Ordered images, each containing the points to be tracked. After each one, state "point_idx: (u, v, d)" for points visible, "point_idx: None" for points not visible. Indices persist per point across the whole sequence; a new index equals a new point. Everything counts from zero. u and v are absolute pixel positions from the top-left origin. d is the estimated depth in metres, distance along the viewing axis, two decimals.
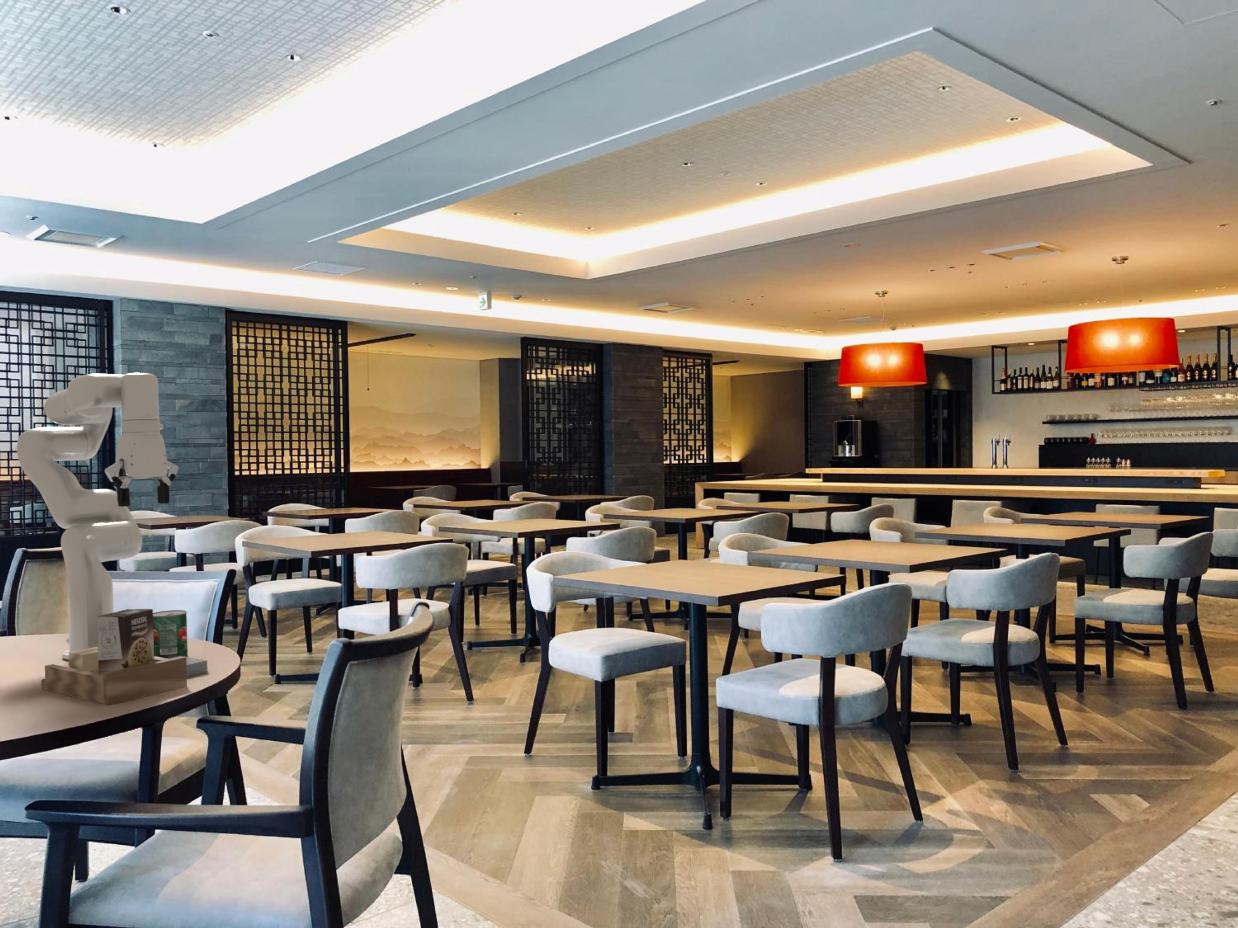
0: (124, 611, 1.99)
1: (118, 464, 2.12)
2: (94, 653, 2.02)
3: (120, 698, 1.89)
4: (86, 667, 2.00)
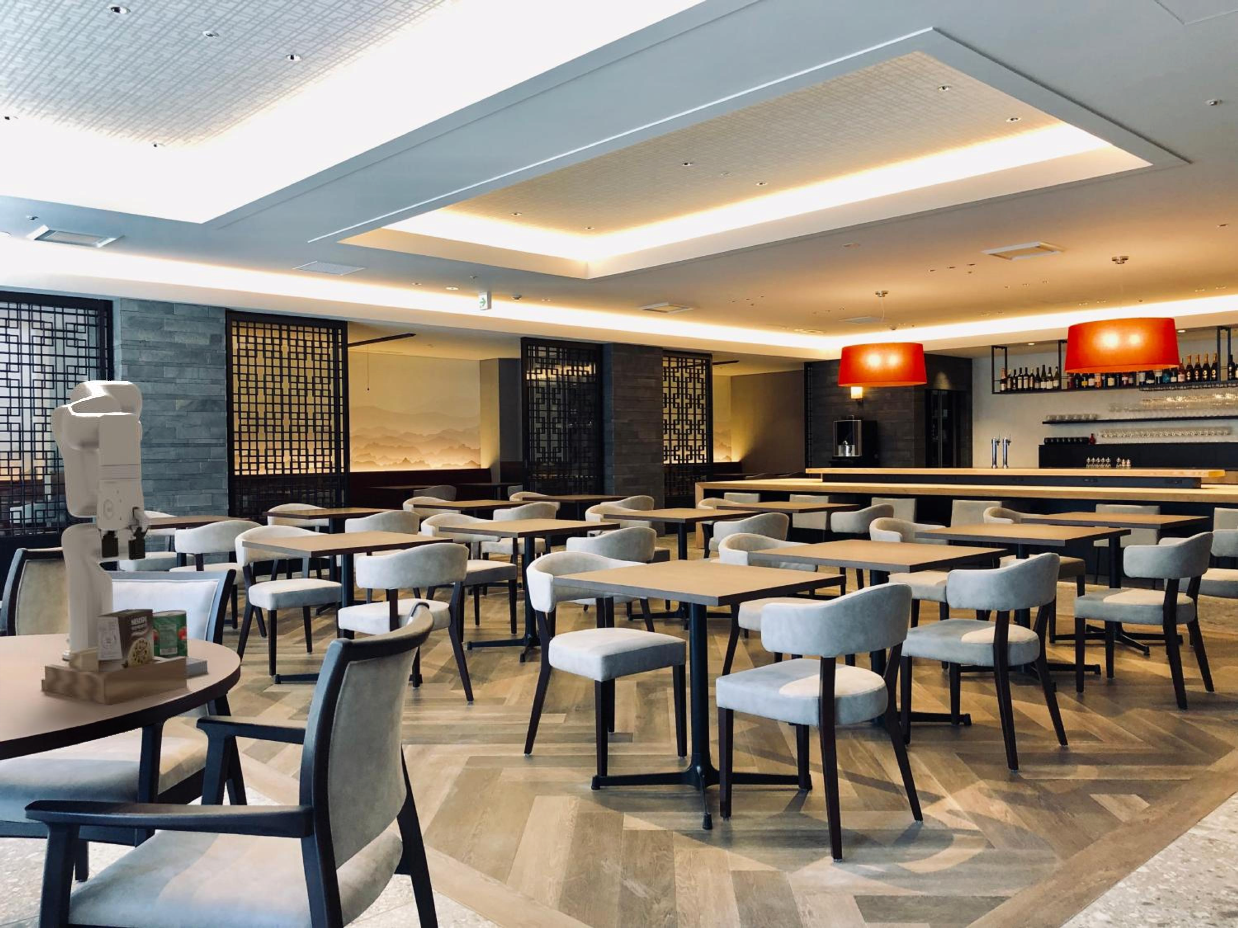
0: (124, 611, 1.99)
1: None
2: (94, 653, 2.02)
3: (120, 698, 1.89)
4: (86, 667, 2.00)
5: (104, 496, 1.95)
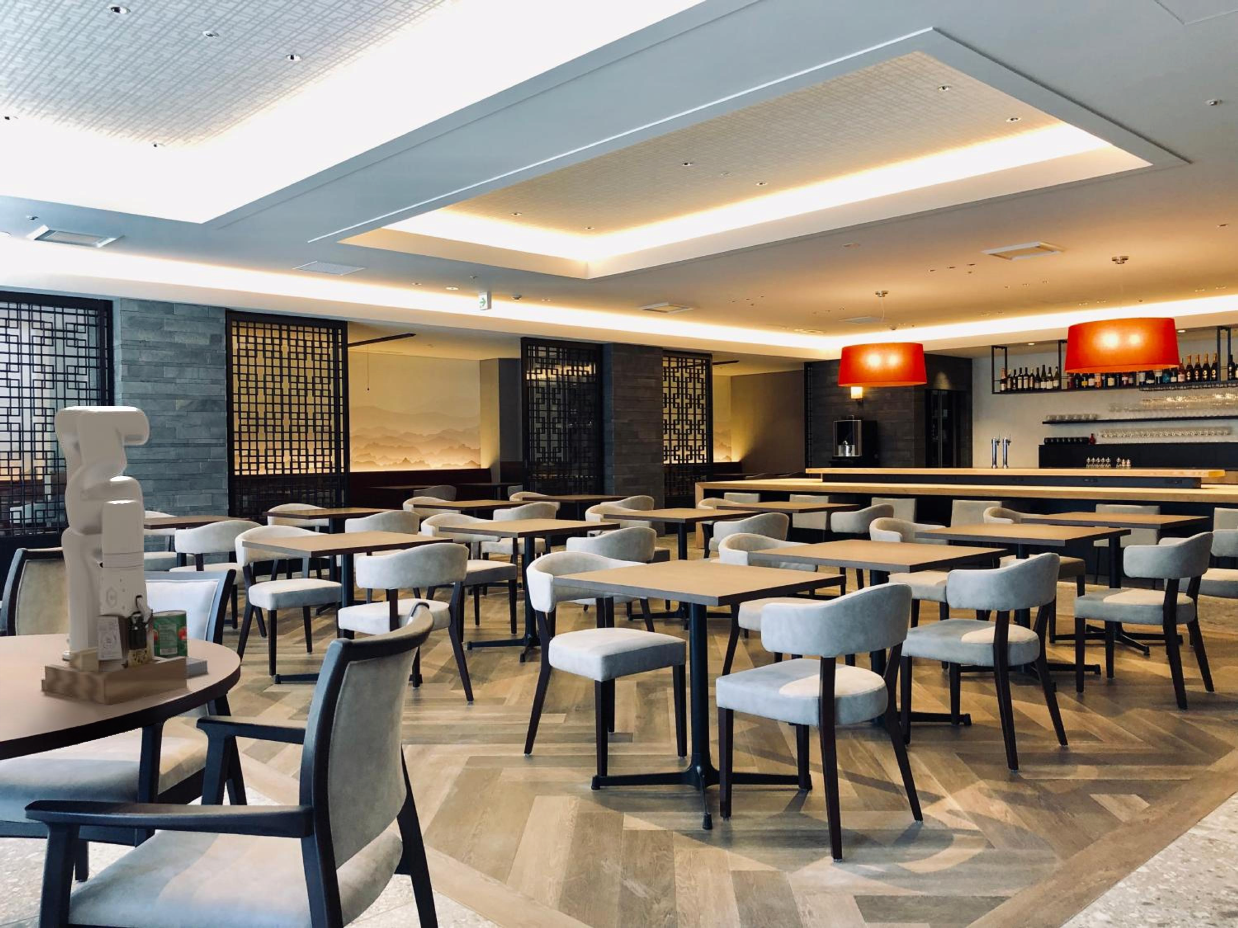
0: None
1: None
2: (94, 653, 2.02)
3: (120, 698, 1.89)
4: (86, 667, 2.00)
5: (107, 583, 1.95)
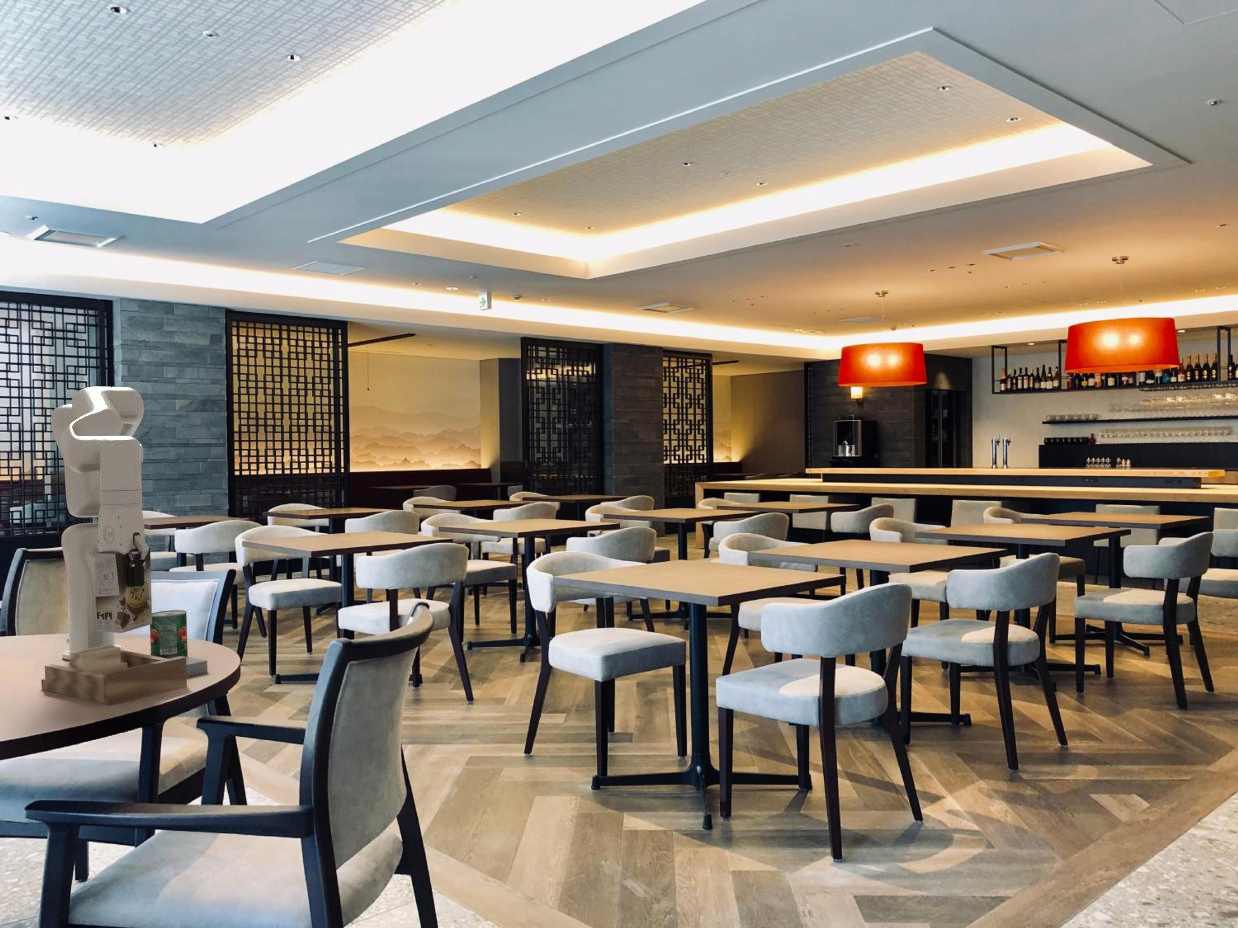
0: None
1: None
2: (94, 653, 2.02)
3: (120, 698, 1.89)
4: (86, 667, 2.00)
5: (105, 520, 1.95)
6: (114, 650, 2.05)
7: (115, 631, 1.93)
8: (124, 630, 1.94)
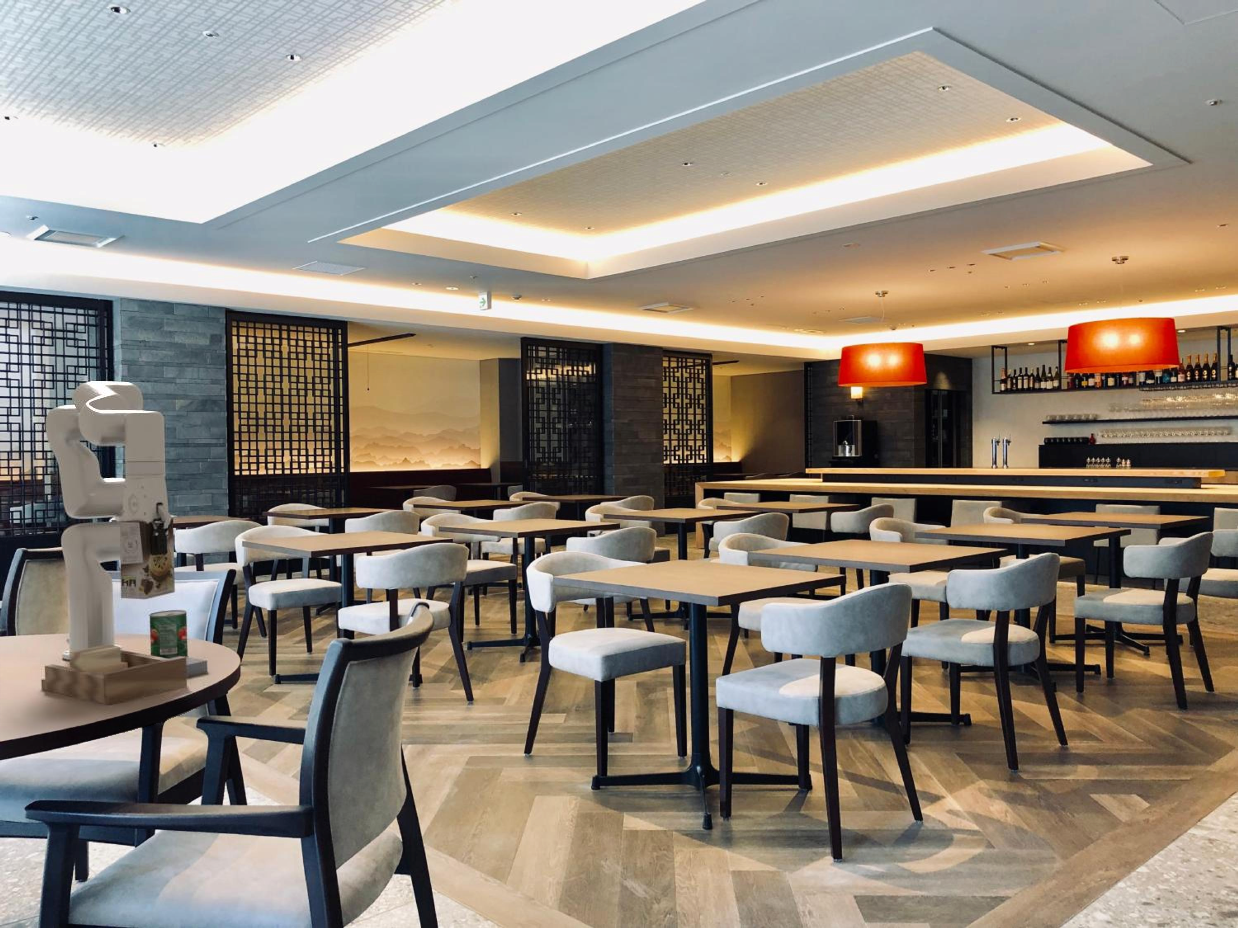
0: None
1: None
2: (94, 652, 2.02)
3: (120, 698, 1.89)
4: (86, 667, 2.00)
5: (129, 491, 2.02)
6: (114, 650, 2.05)
7: (139, 597, 2.00)
8: (147, 596, 2.00)
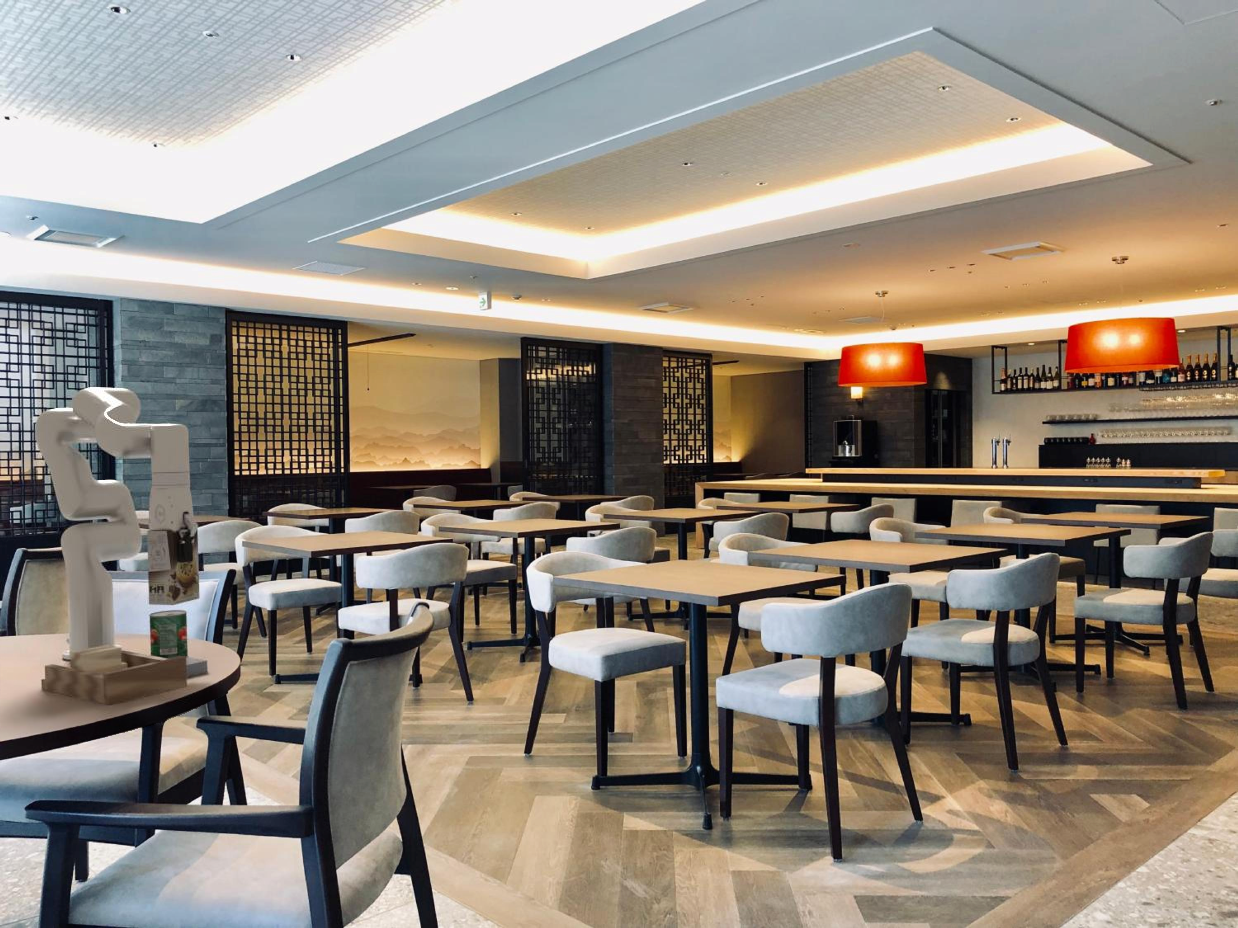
0: None
1: None
2: (94, 653, 2.01)
3: (120, 698, 1.89)
4: (86, 667, 2.00)
5: (156, 501, 2.09)
6: (114, 650, 2.05)
7: (167, 603, 2.07)
8: (175, 602, 2.07)
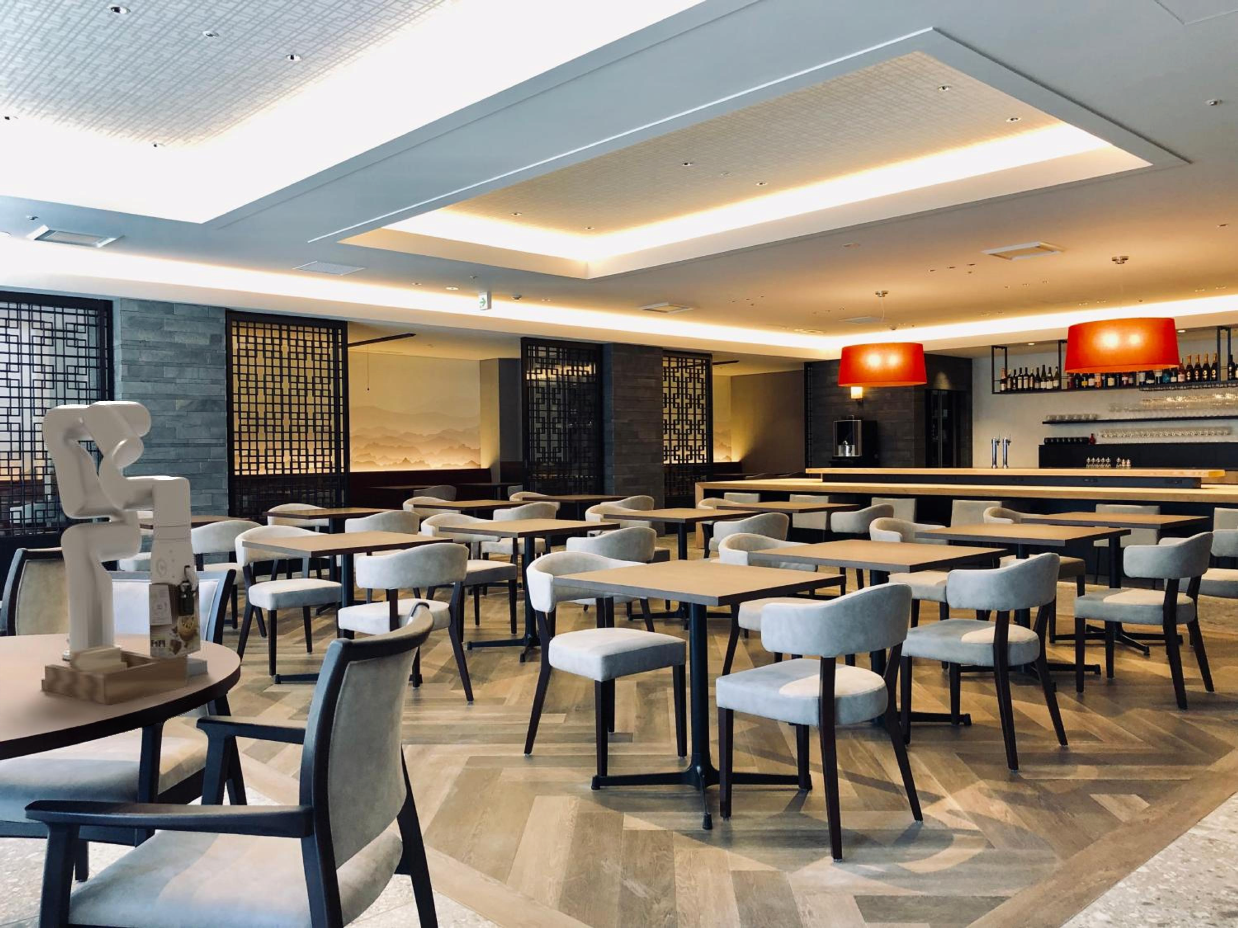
0: None
1: None
2: (94, 653, 2.01)
3: (120, 698, 1.89)
4: (85, 667, 2.00)
5: (157, 554, 2.10)
6: (114, 650, 2.04)
7: (168, 657, 2.07)
8: (176, 656, 2.08)
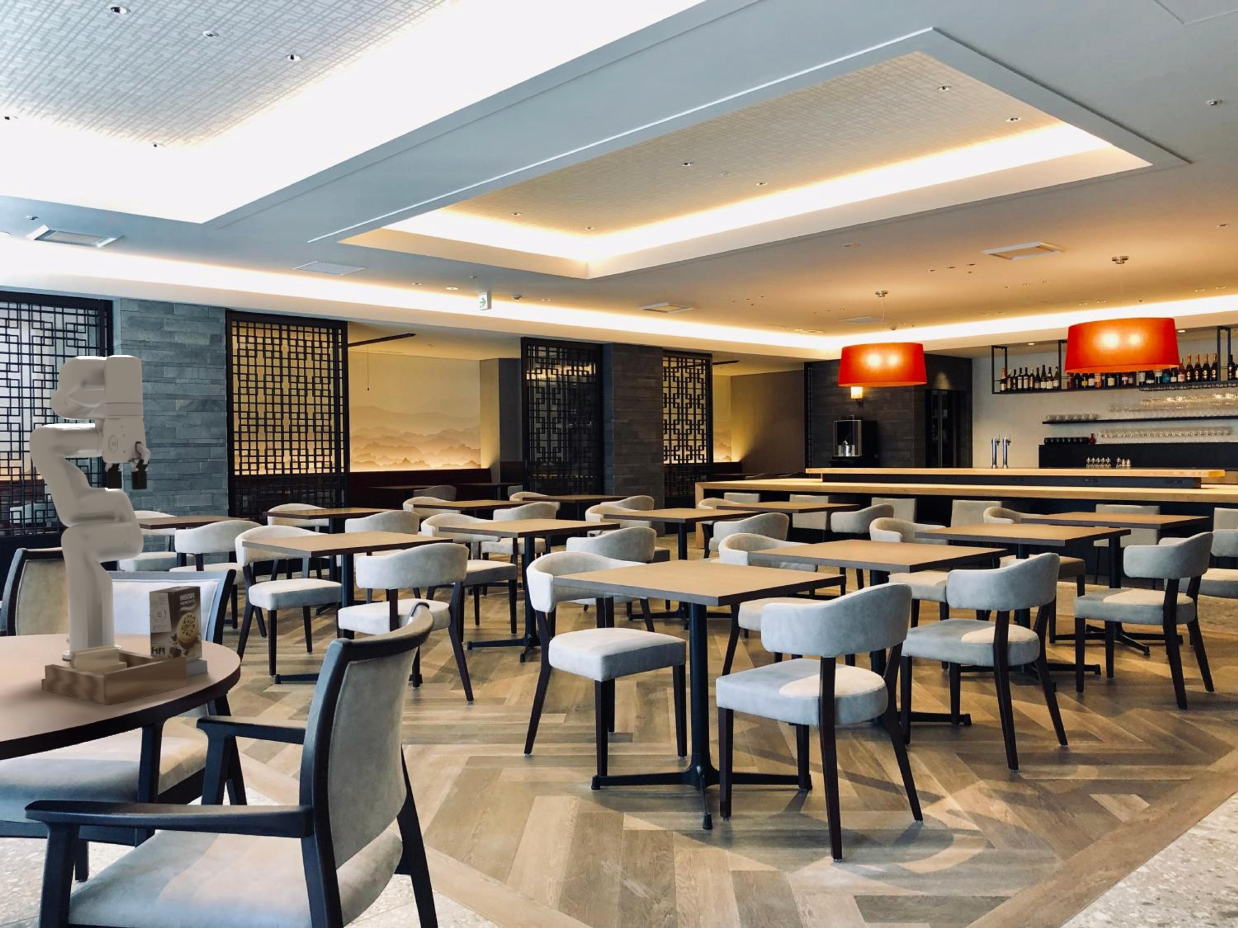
0: None
1: None
2: (90, 653, 2.02)
3: (120, 698, 1.89)
4: (81, 667, 2.00)
5: (109, 431, 2.13)
6: (112, 651, 2.04)
7: None
8: None
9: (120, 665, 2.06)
